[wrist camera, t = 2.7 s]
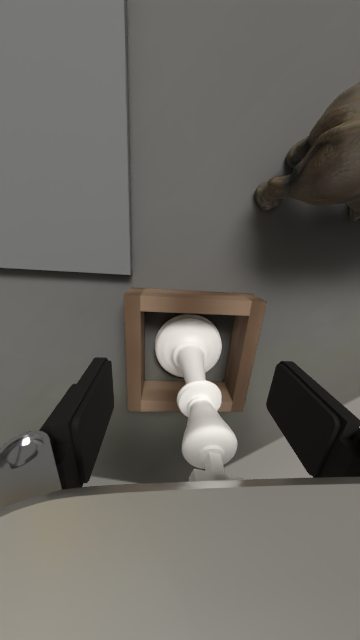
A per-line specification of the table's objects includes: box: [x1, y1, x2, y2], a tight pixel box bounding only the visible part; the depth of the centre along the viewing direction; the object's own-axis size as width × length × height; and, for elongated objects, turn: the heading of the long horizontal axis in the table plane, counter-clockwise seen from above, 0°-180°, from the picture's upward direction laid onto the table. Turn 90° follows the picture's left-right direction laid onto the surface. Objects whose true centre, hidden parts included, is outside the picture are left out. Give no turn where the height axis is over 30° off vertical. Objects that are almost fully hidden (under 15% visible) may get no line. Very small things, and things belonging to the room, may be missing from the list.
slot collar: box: [124, 288, 267, 412], centre depth 13 cm, size 8×8×2 cm
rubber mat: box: [0, 0, 132, 275], centre depth 10 cm, size 12×12×1 cm
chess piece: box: [155, 314, 244, 482], centre depth 10 cm, size 5×5×10 cm
